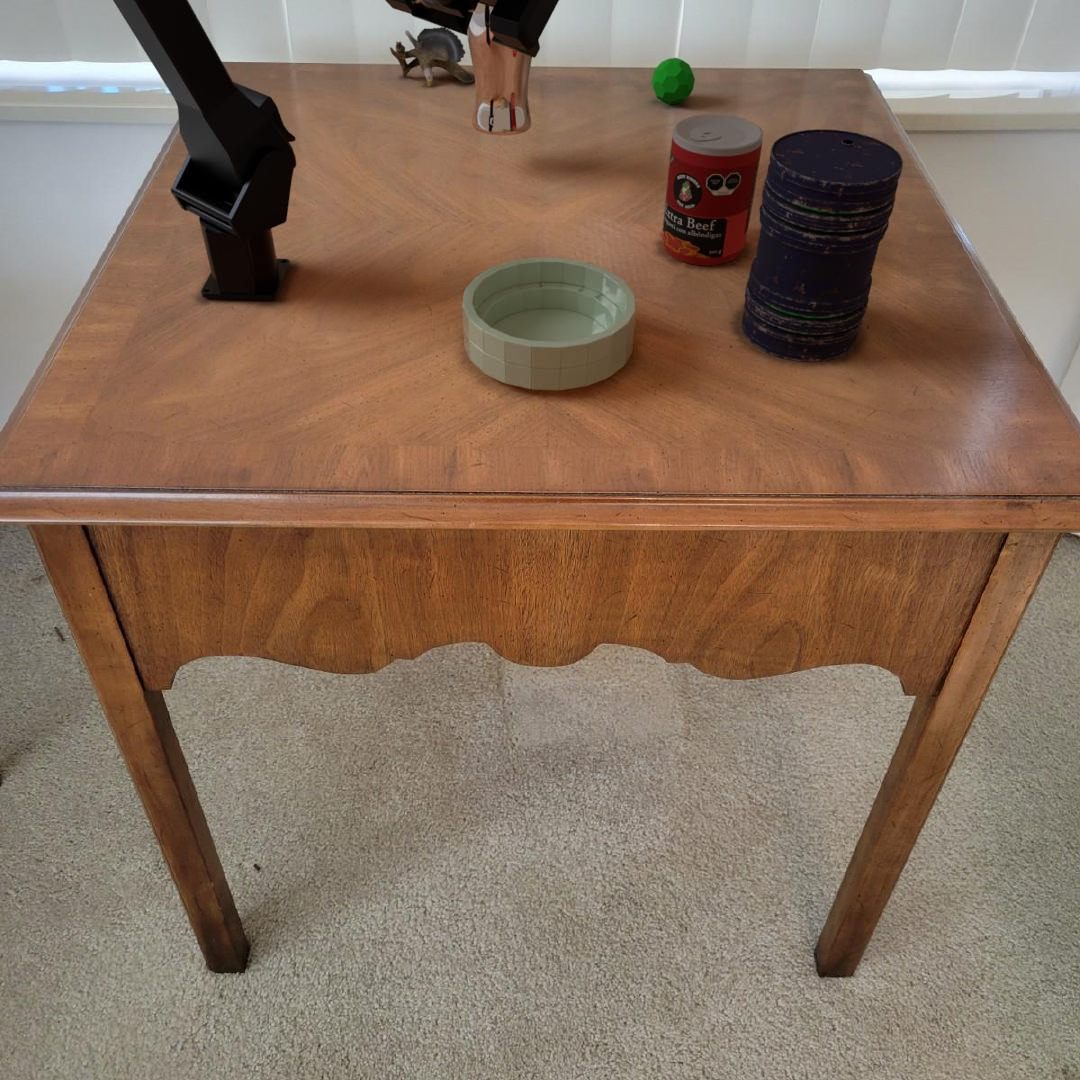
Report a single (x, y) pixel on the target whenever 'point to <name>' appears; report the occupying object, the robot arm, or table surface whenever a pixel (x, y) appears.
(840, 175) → the dark blue cylinder
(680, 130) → the canned food
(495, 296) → the bowl
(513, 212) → the table surface
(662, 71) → the polyhedron
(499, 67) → the beer glass
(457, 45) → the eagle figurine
